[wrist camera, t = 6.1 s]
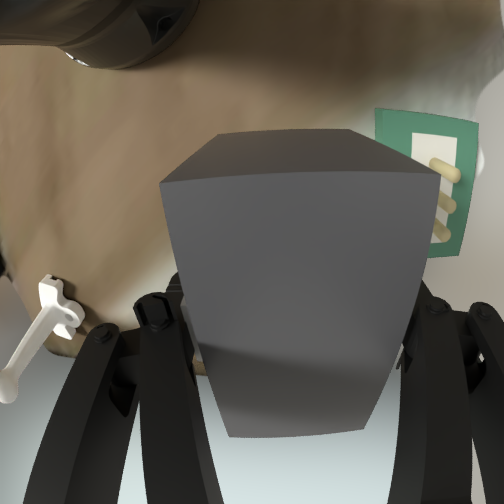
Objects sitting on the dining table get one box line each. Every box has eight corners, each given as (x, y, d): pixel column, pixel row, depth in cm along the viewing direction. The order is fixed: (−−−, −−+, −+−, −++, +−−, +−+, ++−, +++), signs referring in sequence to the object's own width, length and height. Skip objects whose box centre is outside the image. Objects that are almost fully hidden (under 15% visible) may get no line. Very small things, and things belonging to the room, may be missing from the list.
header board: (375, 108, 24) (401, 112, 19) (468, 120, 23) (502, 130, 18) (367, 252, 32) (384, 284, 27) (451, 247, 31) (475, 274, 26)
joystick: (41, 272, 36) (-33, 365, 19) (79, 282, 36) (6, 391, 19) (57, 324, 41) (3, 413, 24) (92, 335, 42) (42, 435, 24)
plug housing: (218, 134, 13) (158, 183, 6) (348, 129, 12) (441, 174, 5) (241, 319, 18) (228, 437, 11) (337, 315, 18) (363, 429, 11)
